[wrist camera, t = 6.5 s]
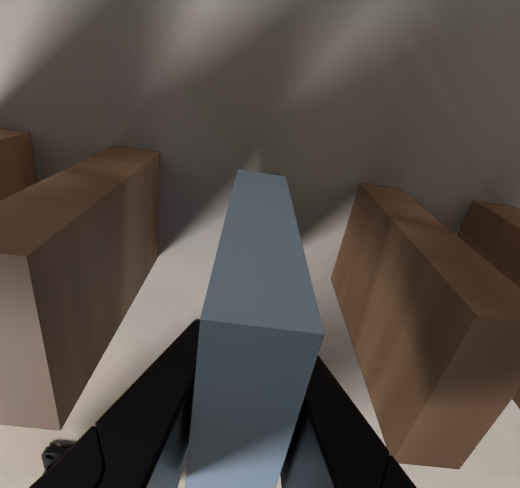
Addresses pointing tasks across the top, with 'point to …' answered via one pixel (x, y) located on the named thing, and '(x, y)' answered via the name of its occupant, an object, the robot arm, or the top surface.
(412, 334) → the tile
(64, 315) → the tile
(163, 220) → the top surface
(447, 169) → the top surface
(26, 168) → the tile
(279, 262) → the blue tile
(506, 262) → the tile
